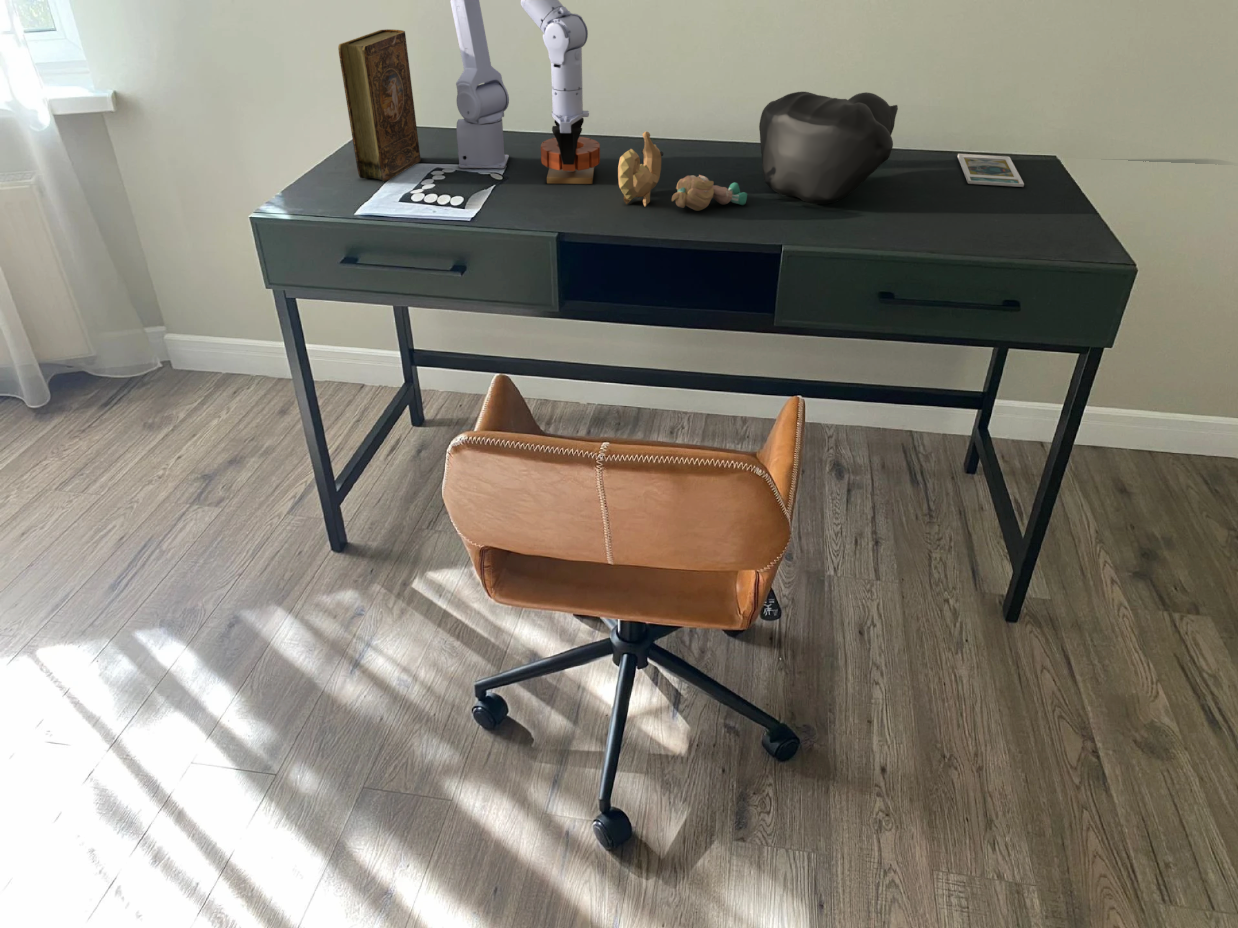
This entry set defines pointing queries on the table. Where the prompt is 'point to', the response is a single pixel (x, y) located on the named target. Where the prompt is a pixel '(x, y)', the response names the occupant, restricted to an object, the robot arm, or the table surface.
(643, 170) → the toy
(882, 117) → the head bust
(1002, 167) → the trading card
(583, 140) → the ring
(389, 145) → the book
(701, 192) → the toy
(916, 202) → the table surface
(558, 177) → the rack
